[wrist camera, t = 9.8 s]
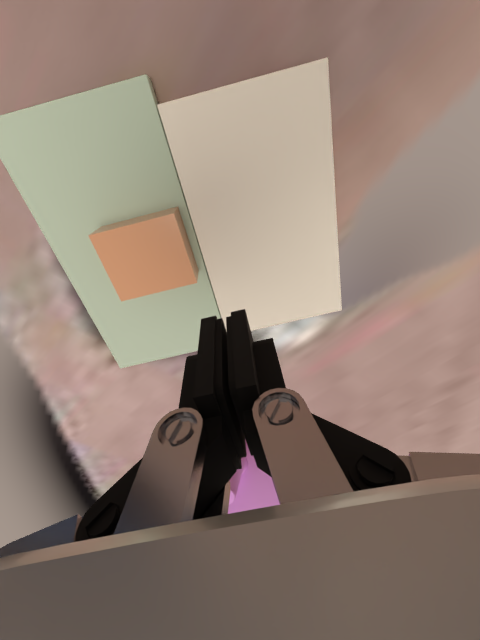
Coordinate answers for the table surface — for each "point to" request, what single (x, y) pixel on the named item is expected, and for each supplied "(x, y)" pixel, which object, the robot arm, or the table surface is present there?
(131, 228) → the terracotta tile
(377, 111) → the table surface
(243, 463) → the teapot
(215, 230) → the plate
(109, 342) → the sage mat
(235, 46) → the table surface
